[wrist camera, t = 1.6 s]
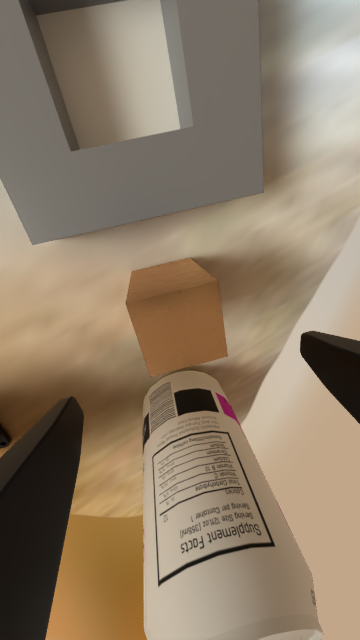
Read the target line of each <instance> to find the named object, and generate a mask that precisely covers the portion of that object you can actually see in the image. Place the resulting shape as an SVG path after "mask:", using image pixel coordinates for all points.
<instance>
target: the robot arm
mask: <svg viewBox="0 0 360 640" xmlns="http://www.w3.org/2000/svg"><path fill="white" fill-rule="evenodd" d="M300 353H301V355H302V357H303V358H304V359H305V361H306V362H307V363H308V365H309V366H310V367H311V369H312V370H313V371H314V373H315V374H316V375H317V377H318V378H319V379H320V380H321V382H322V383H323V384H324V386H326V388H327V389H328V390H329V391H330V393H331V394H332V395H333V396H334V397H335V398H336V399H337V400H338V401H339V402H340V403H341V404H342V405H343V406H344V408H345V409H346V410H347V411H348V412H349V413H350V414H351V415H352V416H353V417H354V418H355V419H356V420H357V422H358V423H359V424H360V341H357V340H352V339H348V338H343V337H339V336H335V335H330V334H325V333H320V332H316V331H309V332H305V333H303V334H302V335H301V342H300ZM83 421H84V414H83V411H82V409H81V407H80V405H79V404H78V402H77V400H76V398H75V397H73V396H70V397H66V398H63V399H61V400H60V401H59V402H58V403H57V404H55V405H54V406H53V407H52V408H51V409H50V410H49V411H48V412H47V413H46V414H45V415H44V416H43V417H42V418H41V419H40V420H39V421H38V422H37V423H36V424H35V425H34V426H33V427H32V428H31V429H30V430H29V431H28V432H27V433H26V434H24V435H23V436H22V437H21V438H20V439H19V440H18V441H17V442H16V443H15V444H14V445H13V446H12V447H11V448H10V449H9V450H8V451H7V452H6V453H5V454H4V455H3V456H2V457H1V458H0V640H45V638H46V633H47V628H48V623H49V618H50V612H51V606H52V602H53V597H54V592H55V586H56V581H57V576H58V571H59V566H60V561H61V555H62V549H63V545H64V540H65V535H66V530H67V524H68V519H69V514H70V509H71V504H72V499H73V493H74V488H75V483H76V478H77V473H78V468H79V462H80V454H81V444H82V432H83ZM11 440H12V439H11V438H10V437H9V435H8V434H7V433H6V432H5V431H4V429H3V428H2V427H1V426H0V449H1V448H4V447H7V446H9V444H10V443H11Z"/></svg>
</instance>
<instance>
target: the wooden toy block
mask: <svg viewBox="0 0 360 640" xmlns="http://www.w3.org/2000/svg"><path fill="white" fill-rule="evenodd" d="M126 306H127V309H128V312H129V315H130V318H131V321H132V324H133V327H134V329H135V332H136V335H137V338H138V341H139V344H140V347H141V350H142V353H143V356H144V359H145V362H146V365H147V368H148V371H149V374H150V377H153V376H157V375H160V374H164V373H168V372H171V371H175V370H179V369H182V368H186V367H190V366H194V365H197V364H201V363H205V362H208V361H212V360H216V359H220V358H223V357H227V356H228V354H227V346H226V338H225V331H224V323H223V315H222V307H221V299H220V292H219V284H218V280H217V279H215V278H214V277H213V276H212V275H210V274H209V273H208V272H207V271H205V270H204V269H203V268H202V267H200V266H199V265H198V264H197V263H195V262H194V261H193V260H192V259H190V258H186V259H182V260H178V261H174V262H169V263H165V264H161V265H157V266H153V267H149V268H145V269H140V270H136V271H132V273H131V278H130V283H129V289H128V294H127V299H126Z"/></svg>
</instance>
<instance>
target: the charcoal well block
mask: <svg viewBox="0 0 360 640" xmlns="http://www.w3.org/2000/svg"><path fill="white" fill-rule="evenodd" d="M0 178H1V181H2V183H3V185H4V187H5V189H6V191H7V193H8V195H9V197H10V199H11V201H12V203H13V205H14V208H15V210H16V212H17V214H18V216H19V218H20V220H21V222H22V224H23V226H24V228H25V230H26V232H27V235H28V237H29V239H30V241H31V243H32V245H35V244H39V243H44V242H48V241H53V240H57V239H61V238H66V237H70V236H75V235H79V234H83V233H88V232H92V231H97V230H101V229H105V228H110V227H114V226H119V225H123V224H127V223H132V222H136V221H141V220H145V219H149V218H154V217H158V216H163V215H167V214H171V213H176V212H180V211H185V210H189V209H193V208H198V207H202V206H207V205H211V204H215V203H220V202H224V201H229V200H233V199H237V198H242V197H246V196H251V195H255V194H259V193H264V182H263V146H262V110H261V74H260V38H259V2H258V0H0Z"/></svg>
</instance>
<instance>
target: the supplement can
mask: <svg viewBox="0 0 360 640" xmlns="http://www.w3.org/2000/svg"><path fill="white" fill-rule="evenodd" d="M143 549H144V550H143V553H144V631H145V634H146V637H147V640H321V638H322V636H323V634H324V633H323V631H322V629H321V626H320V624H319V622H318V616H317V609H316V602H315V594H314V586H313V579H312V573H311V571H310V569H309V567H308V565H307V563H306V561H305V559H304V557H303V555H302V553H301V551H300V549H299V546H298V544H297V542H296V540H295V538H294V537H293V534H292V532H291V530H290V528H289V526H288V524H287V522H286V520H285V517H284V515H283V514H282V511H281V509H280V507H279V505H278V503H277V501H276V499H275V497H274V495H273V492H272V490H271V488H270V486H269V484H268V482H267V480H266V478H265V476H264V474H263V472H262V470H261V468H260V465H259V463H258V461H257V459H256V457H255V455H254V453H253V451H252V449H251V447H250V445H249V443H248V441H247V438H246V437H245V435H244V432H243V430H242V428H241V426H240V424H239V422H238V420H237V418H236V416H235V414H234V411H233V409H232V407H231V405H230V403H229V401H228V399H227V397H226V395H225V393H224V391H223V389H222V387H221V386H220V384H219V383H218V381H217V380H216V379H215V378H213V377H211V376H210V375H208V374H206V373H203V372H198V371H193V370H191V371H182V372H175V373H173V374H171V375H168V376H166V377H163V378H161V379H160V380H159V381H158V382H157V383H155V384H154V385H153V386H152V387H151V388H150V389H149V391H148V393H147V394H146V396H145V397H144V402H143Z"/></svg>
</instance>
